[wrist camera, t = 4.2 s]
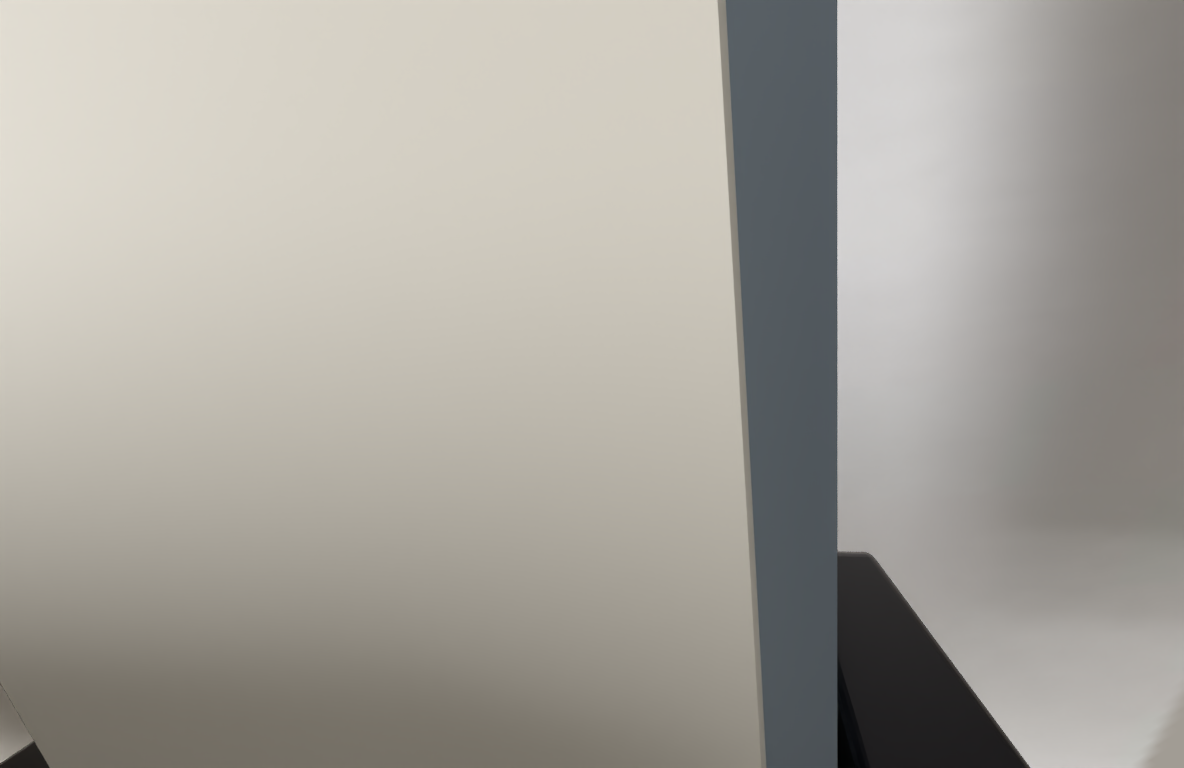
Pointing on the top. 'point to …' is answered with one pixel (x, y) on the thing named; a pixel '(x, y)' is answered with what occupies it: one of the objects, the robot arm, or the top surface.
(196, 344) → the book
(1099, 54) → the top surface
